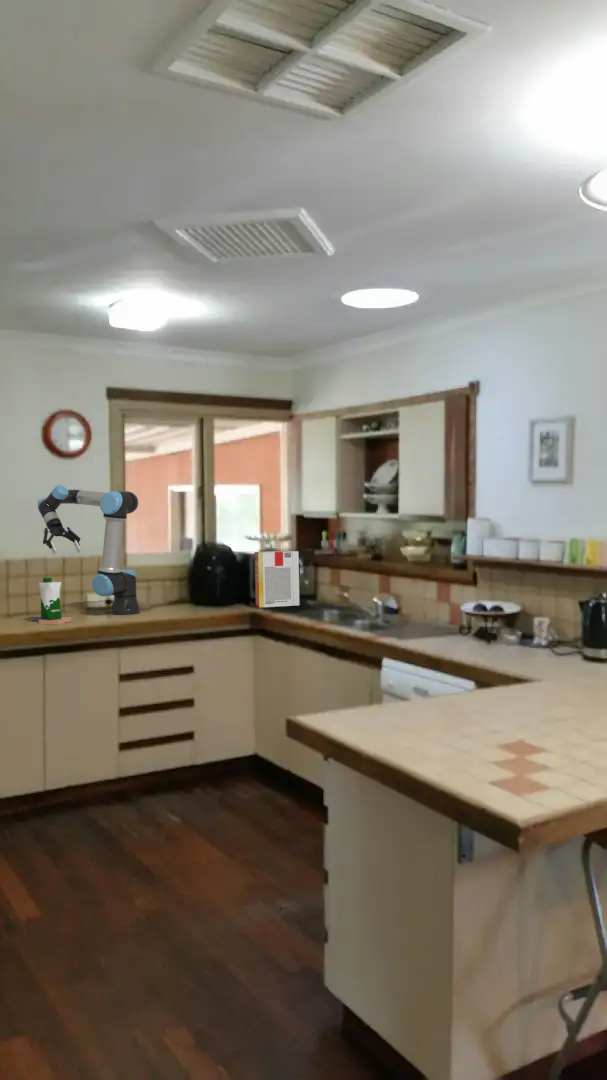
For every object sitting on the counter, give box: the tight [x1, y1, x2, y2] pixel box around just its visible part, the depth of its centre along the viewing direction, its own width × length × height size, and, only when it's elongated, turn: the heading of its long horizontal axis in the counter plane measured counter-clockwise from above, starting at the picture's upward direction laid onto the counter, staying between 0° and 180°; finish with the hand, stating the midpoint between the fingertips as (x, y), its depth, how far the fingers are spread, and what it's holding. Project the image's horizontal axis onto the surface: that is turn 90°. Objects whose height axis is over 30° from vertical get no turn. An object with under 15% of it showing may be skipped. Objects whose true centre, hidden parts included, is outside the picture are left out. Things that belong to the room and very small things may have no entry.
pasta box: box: [254, 550, 300, 609], centre depth 472 cm, size 23×8×30 cm, turn 107°
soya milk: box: [38, 577, 63, 620], centre depth 417 cm, size 9×9×20 cm
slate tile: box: [29, 613, 63, 622], centre depth 431 cm, size 11×11×2 cm
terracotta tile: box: [38, 616, 72, 625], centre depth 418 cm, size 11×11×2 cm
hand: (67, 551), depth 439 cm, fingers open, 13 cm apart
